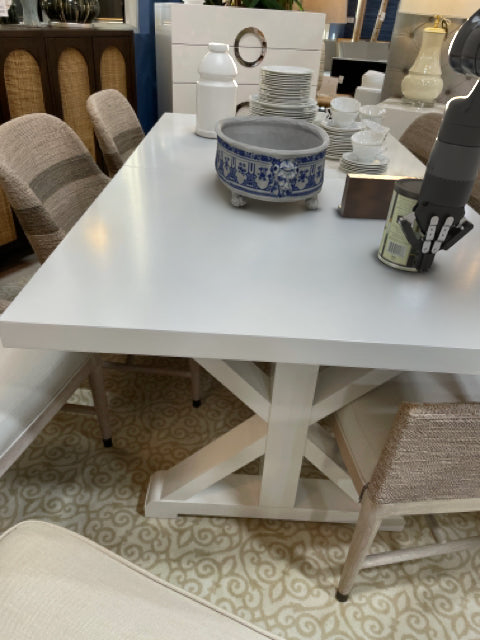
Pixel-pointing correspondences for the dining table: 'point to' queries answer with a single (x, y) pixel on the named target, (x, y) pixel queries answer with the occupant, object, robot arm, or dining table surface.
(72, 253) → the dining table surface
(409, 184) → the coffee can
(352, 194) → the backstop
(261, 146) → the decorative bowl
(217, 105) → the bottle
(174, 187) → the dining table surface
